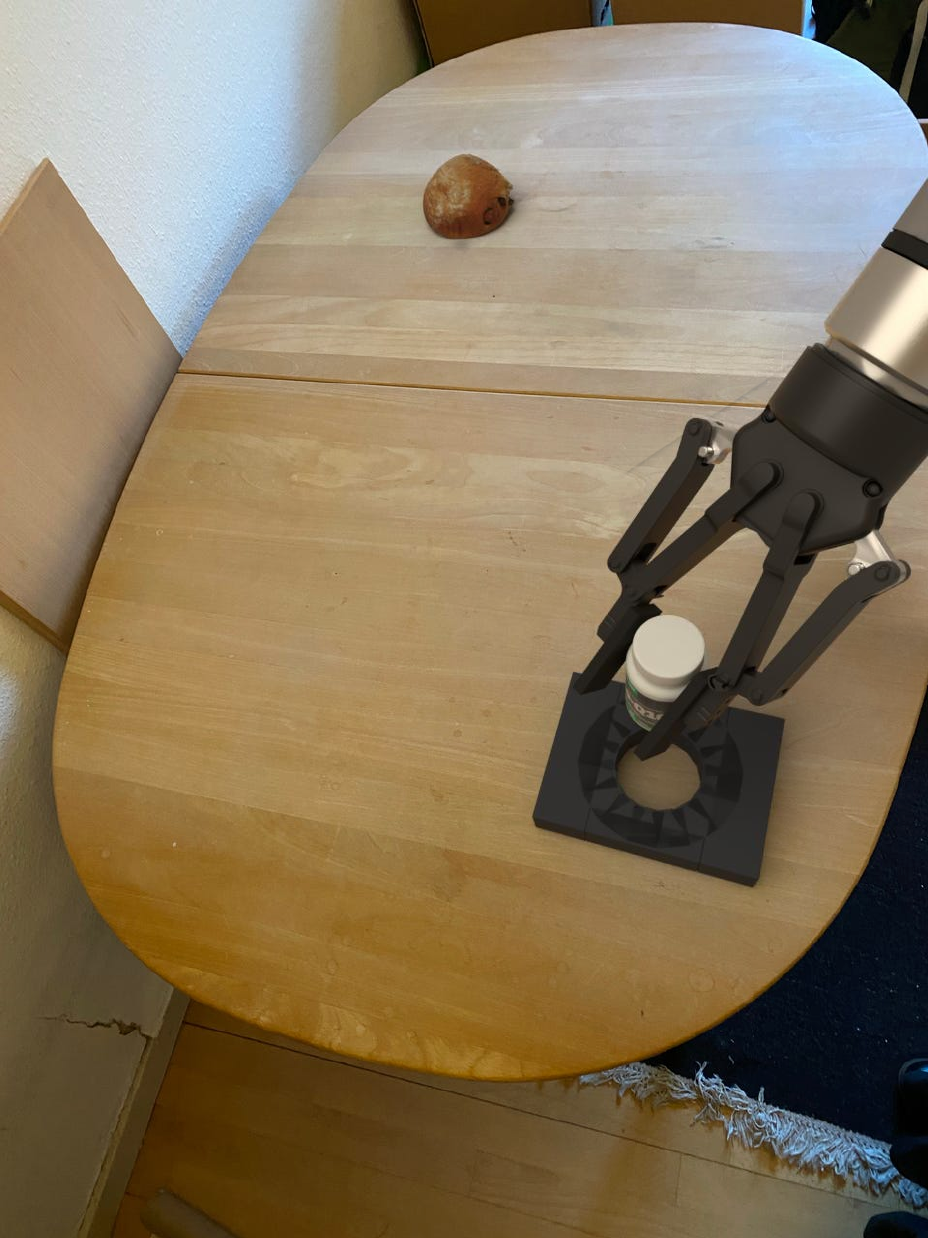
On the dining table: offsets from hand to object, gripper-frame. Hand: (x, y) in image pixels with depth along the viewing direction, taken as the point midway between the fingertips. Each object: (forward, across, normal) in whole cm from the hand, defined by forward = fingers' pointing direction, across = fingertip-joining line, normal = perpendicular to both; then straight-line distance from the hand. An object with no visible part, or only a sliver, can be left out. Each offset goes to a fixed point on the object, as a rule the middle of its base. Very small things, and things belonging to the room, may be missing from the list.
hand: (618, 718), depth 50 cm
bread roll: (-12, +63, -34) cm, 73 cm away
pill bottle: (0, 0, -5) cm, 5 cm away
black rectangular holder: (+9, -1, -13) cm, 16 cm away
